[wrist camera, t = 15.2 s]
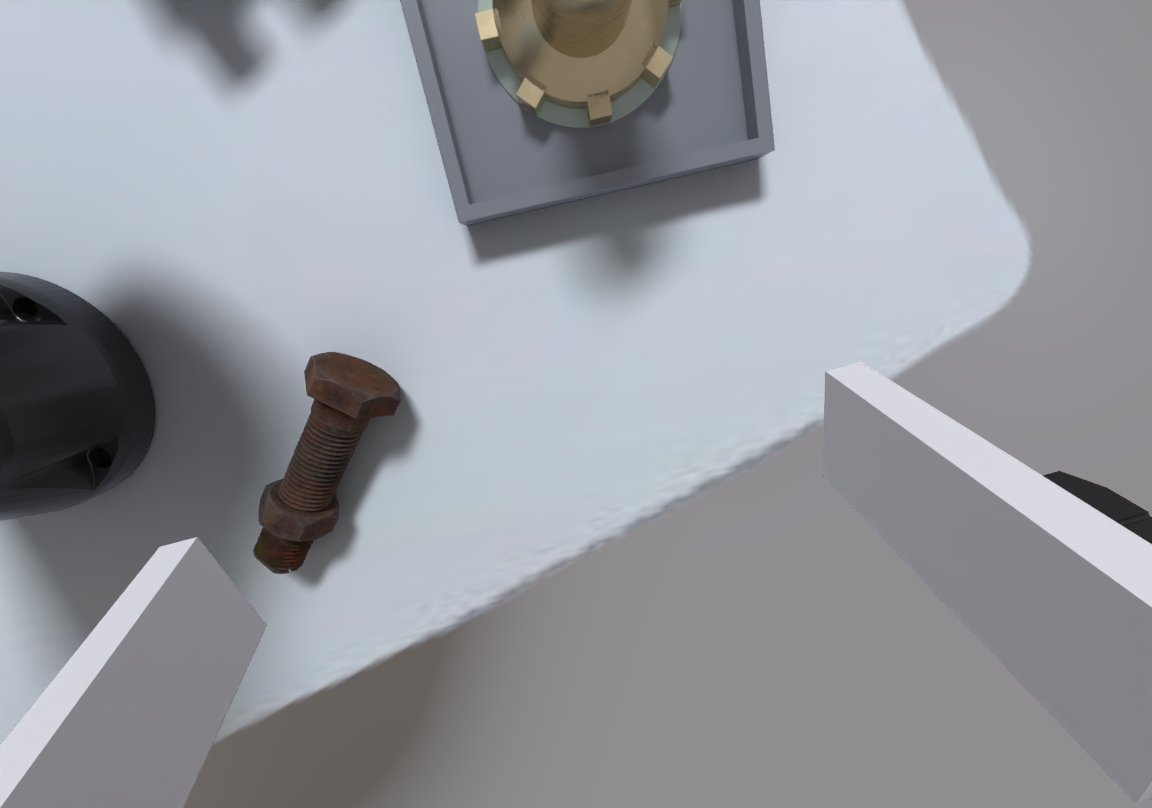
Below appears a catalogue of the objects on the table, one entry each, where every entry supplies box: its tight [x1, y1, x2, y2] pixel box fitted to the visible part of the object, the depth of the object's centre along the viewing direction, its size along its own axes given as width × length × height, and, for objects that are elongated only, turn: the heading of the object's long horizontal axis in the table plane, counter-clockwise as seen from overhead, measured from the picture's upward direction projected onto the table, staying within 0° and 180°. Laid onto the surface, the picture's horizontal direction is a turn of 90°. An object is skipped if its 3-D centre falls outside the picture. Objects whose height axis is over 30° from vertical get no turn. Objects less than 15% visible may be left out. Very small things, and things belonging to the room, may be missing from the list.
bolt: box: [253, 352, 400, 574], centre depth 33 cm, size 6×5×15 cm
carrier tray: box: [400, 0, 775, 225], centre depth 27 cm, size 18×18×2 cm
